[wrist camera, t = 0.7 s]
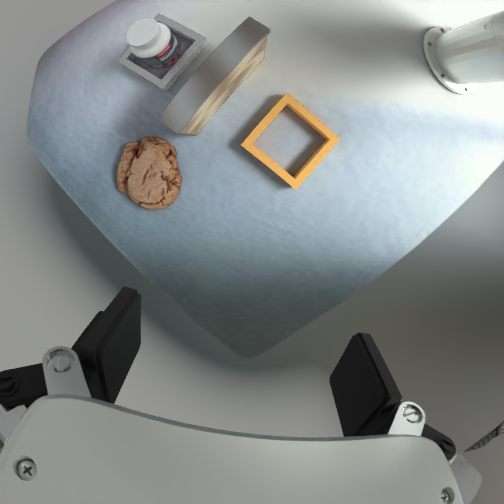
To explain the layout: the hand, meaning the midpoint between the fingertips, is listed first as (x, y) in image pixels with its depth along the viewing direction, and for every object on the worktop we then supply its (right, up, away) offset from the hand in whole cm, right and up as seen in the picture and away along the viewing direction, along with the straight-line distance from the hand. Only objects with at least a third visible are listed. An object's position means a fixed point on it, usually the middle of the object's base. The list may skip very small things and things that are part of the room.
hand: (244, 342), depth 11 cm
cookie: (-14, +15, +25) cm, 32 cm away
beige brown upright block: (-3, +25, +20) cm, 32 cm away
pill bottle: (-12, +31, +18) cm, 38 cm away
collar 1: (-12, +31, +18) cm, 38 cm away
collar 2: (+5, +18, +23) cm, 30 cm away
